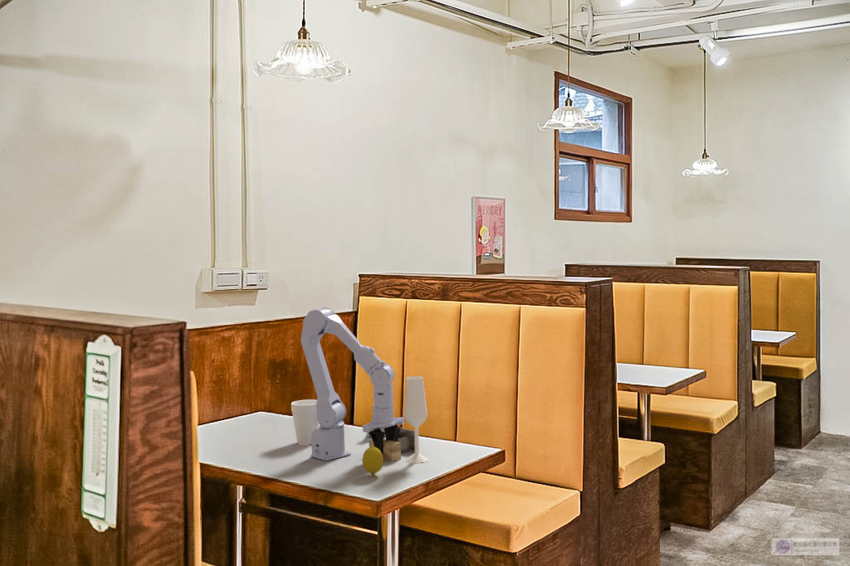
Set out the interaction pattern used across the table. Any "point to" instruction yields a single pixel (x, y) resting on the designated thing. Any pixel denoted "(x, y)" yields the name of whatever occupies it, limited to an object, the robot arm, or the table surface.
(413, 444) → the bracket
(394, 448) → the wooden block
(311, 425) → the foam cup
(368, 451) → the lemon
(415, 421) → the champagne flute
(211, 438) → the table surface
